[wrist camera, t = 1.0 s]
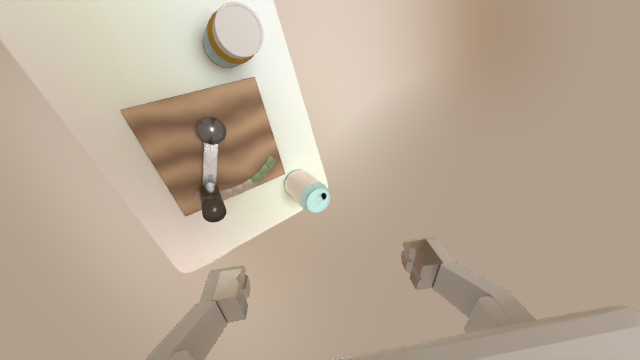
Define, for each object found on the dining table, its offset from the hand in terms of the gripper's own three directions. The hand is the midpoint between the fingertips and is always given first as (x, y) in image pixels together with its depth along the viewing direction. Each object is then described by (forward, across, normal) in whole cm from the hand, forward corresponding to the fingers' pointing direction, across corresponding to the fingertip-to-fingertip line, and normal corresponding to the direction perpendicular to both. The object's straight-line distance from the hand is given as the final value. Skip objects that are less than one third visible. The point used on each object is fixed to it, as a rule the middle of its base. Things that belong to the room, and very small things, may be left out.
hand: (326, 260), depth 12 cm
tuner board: (+38, +17, +8) cm, 43 cm away
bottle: (+43, +12, -9) cm, 46 cm away
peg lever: (+36, +19, +11) cm, 42 cm away
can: (+43, +2, +22) cm, 48 cm away
